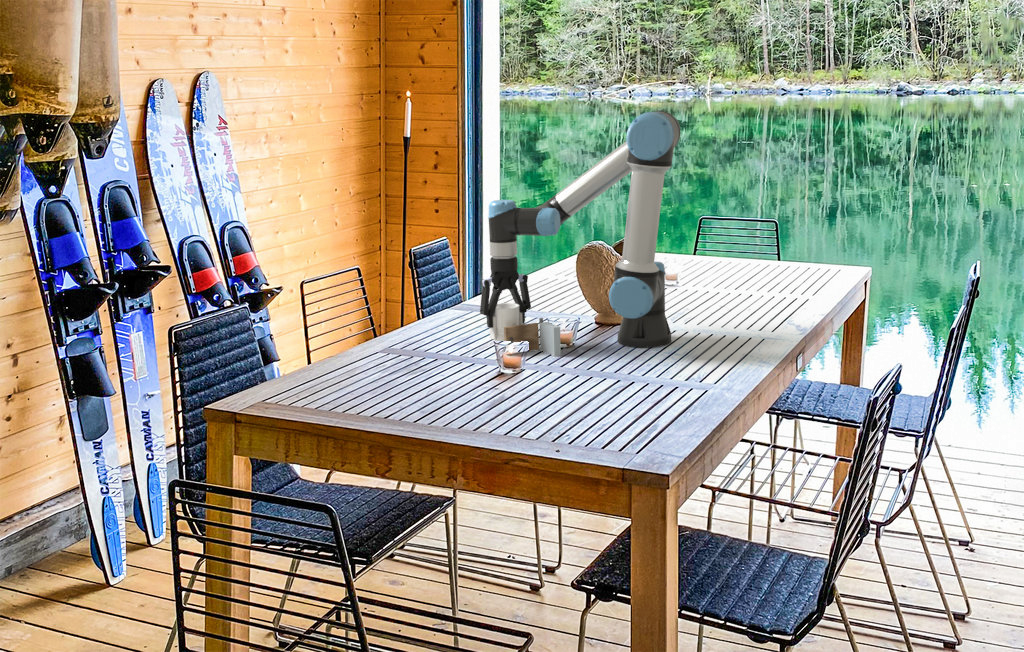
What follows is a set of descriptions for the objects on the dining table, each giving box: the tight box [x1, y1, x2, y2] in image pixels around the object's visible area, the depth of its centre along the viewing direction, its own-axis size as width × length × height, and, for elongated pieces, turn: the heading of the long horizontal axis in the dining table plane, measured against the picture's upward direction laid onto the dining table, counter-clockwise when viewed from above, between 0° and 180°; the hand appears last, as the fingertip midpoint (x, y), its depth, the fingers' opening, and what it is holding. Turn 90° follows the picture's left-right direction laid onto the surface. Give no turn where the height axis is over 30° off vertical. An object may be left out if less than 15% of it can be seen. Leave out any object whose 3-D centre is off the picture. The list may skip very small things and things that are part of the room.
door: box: [504, 322, 540, 352], centre depth 306 cm, size 10×2×8 cm, turn 115°
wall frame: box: [523, 317, 562, 357], centre depth 314 cm, size 30×2×9 cm, turn 28°
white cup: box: [493, 302, 520, 342], centre depth 311 cm, size 8×8×10 cm
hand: (506, 336), depth 312 cm, fingers closed on white cup, 8 cm apart
